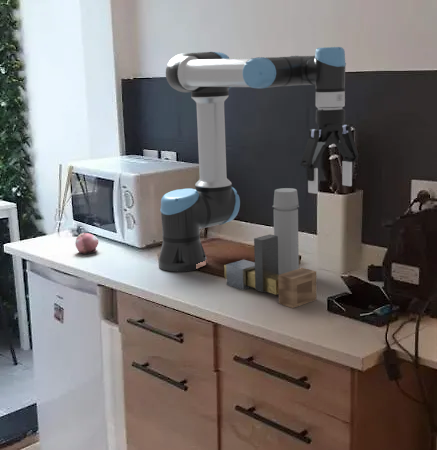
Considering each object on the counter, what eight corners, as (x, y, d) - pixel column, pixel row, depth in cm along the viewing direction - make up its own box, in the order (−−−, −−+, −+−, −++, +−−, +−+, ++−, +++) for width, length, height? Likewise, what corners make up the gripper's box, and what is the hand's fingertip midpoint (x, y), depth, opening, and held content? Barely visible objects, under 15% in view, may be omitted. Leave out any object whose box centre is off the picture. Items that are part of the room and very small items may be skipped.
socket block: (278, 303, 188) (278, 275, 186) (302, 295, 193) (302, 267, 192) (292, 308, 184) (292, 279, 182) (316, 299, 190) (316, 271, 188)
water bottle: (298, 276, 209) (297, 192, 204) (272, 276, 211) (270, 192, 205) (301, 267, 218) (300, 186, 212) (275, 267, 220) (274, 186, 214)
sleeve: (226, 284, 205) (226, 264, 203) (244, 279, 209) (243, 259, 208) (243, 290, 200) (242, 269, 198) (261, 284, 204) (260, 264, 202)
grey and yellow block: (222, 279, 207) (220, 230, 203) (237, 274, 210) (236, 226, 207) (273, 295, 191) (272, 242, 188) (289, 290, 195) (288, 238, 191)
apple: (73, 256, 244) (69, 235, 245) (93, 254, 249) (89, 233, 250) (84, 253, 238) (81, 231, 239) (104, 250, 243) (101, 229, 244)
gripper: (308, 112, 175) (308, 198, 180) (372, 105, 191) (371, 184, 196) (286, 111, 181) (287, 194, 186) (350, 104, 196) (349, 181, 201)
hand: (330, 189), depth 191 cm, fingers open, 13 cm apart
